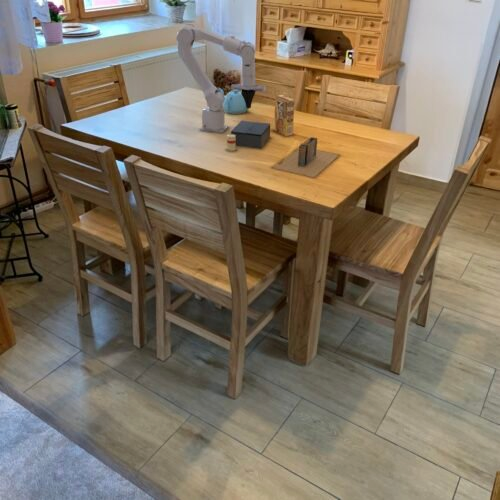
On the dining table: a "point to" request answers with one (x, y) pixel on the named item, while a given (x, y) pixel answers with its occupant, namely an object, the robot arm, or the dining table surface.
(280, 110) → the candy box
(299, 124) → the dining table surface
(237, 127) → the flap
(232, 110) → the teapot
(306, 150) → the architectural model on board
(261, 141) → the carton
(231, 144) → the red-banded cylinder
